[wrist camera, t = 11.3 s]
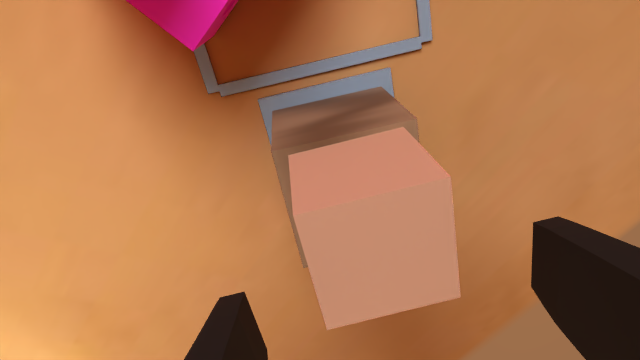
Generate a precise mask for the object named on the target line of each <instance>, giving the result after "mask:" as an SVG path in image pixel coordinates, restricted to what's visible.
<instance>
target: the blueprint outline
mask: <svg viewBox="0 0 640 360" xmlns="http://www.w3.org/2000/svg"><path fill="white" fill-rule="evenodd" d="M416 3H417V14H418V24H419V34H420V36H419V37H415V38H411V39H407V40H403V41H399V42H394V43H390V44H386V45H382V46H378V47H374V48H370V49H365V50H361V51H357V52H353V53H349V54H345V55H340V56H336V57H332V58H328V59H324V60H320V61H315V62H311V63H307V64H303V65H299V66H295V67H291V68H286V69H282V70H278V71H274V72H270V73H266V74H261V75H257V76H253V77H249V78H245V79H241V80H236V81H232V82H228V83H224V84H220V85H218V83H217V80H216V77H215V74H214V71H213V68H212V65H211V62H210V59H209V56H208V53H207V50H206V47H205V44H202V45H201V46H200V47H198V48H197V49H196V50H194V54H195V57H196V60H197V62H198V65H199V68H200V71H201V74H202V77H203V80H204V83H205V86H206V89H207V91H208V94H210V93H214V92H218V91H220V94H221V97H222V96H226V95H231V94H235V93H239V92H243V91H247V90H251V89H256V88H260V87H264V86H268V85H272V84H276V83H280V82H285V81H289V80H293V79H297V78H301V77H305V76H310V75H314V74H318V73H322V72H326V71H330V70H335V69H339V68H343V67H347V66H351V65H355V64H360V63H364V62H368V61H372V60H376V59H380V58H384V57H389V56H393V55H397V54H401V53H405V52H409V51H414V50H418V49H422V46H421V43H422V42H426V41H430V40H432V29H431V17H430V5H429V0H416ZM380 86H381V87H382V88H384V89H385V90H386V91H387V92H388V93H389V94H390V95H391V96H393V97H394V92H393V85H392V77H391V70H390V68H385V69H381V70H377V71H373V72H368V73H364V74H360V75H356V76H352V77H348V78H344V79H339V80H335V81H331V82H327V83H323V84H319V85H314V86H310V87H306V88H302V89H298V90H294V91H289V92H285V93H281V94H277V95H273V96H269V97H264V98H260V99H258V102H259V106H260V109H261V113H262V116H263V120H264V123H265V126H266V130H267V133H268V137H269V140H270V144H271V139H272V111H274V110H279V109H283V108H287V107H292V106H296V105H301V104H305V103H309V102H314V101H318V100H323V99H327V98H331V97H336V96H340V95H345V94H349V93H353V92H358V91H362V90H367V89H371V88H375V87H380Z"/></svg>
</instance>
